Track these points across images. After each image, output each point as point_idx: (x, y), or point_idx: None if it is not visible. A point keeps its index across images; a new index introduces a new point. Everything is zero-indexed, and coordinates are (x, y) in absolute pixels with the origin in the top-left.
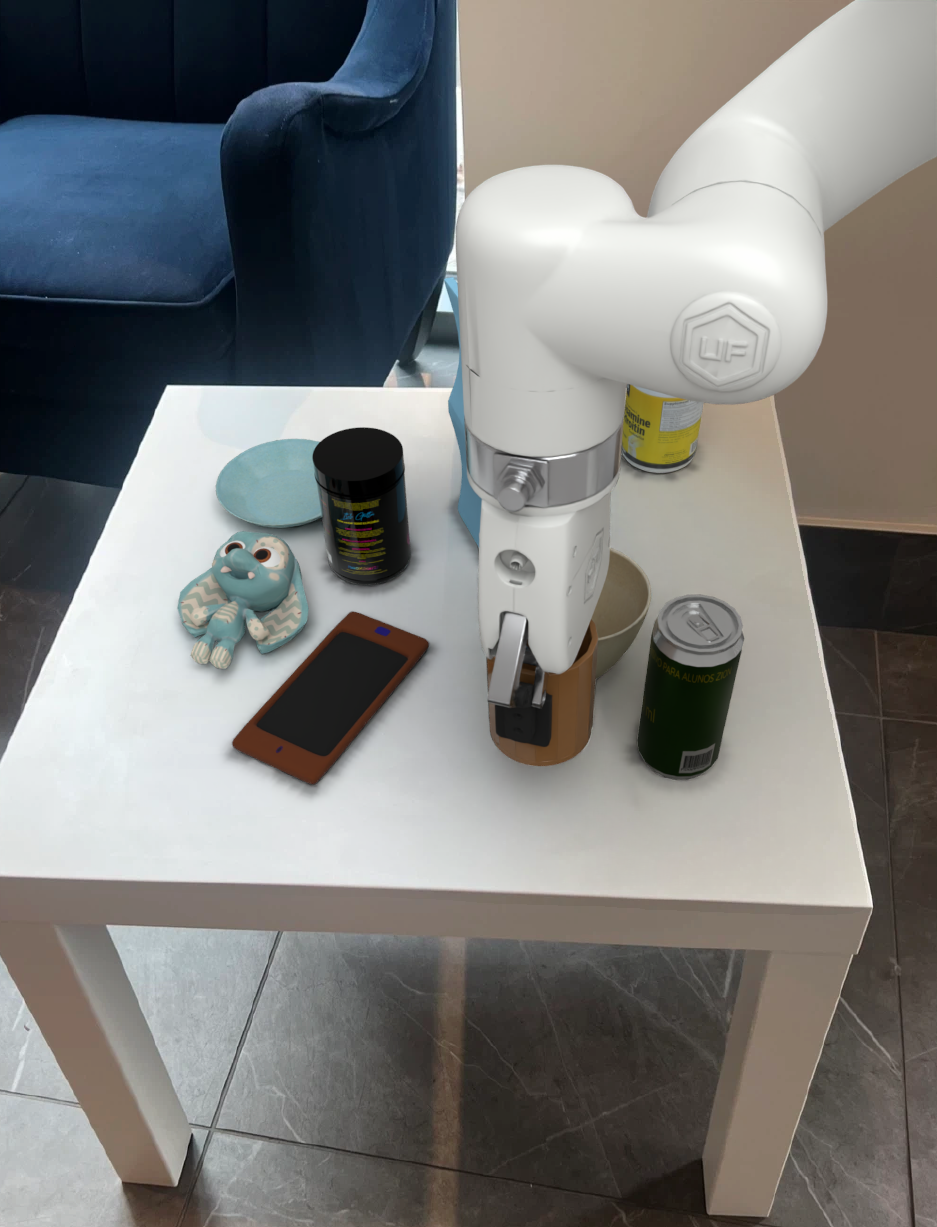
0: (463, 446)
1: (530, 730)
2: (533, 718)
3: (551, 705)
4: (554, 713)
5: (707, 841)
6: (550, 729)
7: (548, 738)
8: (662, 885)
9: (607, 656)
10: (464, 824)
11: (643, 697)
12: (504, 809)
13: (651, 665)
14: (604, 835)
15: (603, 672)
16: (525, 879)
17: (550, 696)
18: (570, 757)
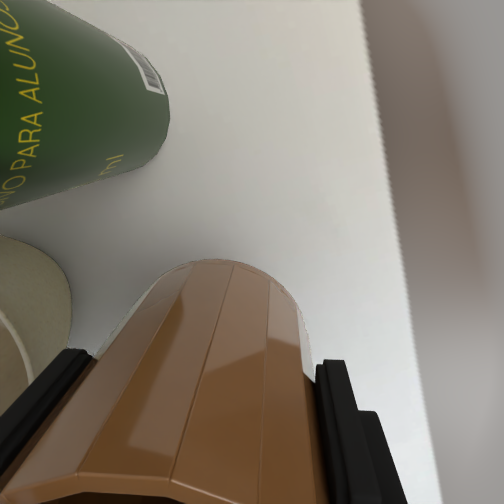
0: None
1: (386, 444)
2: (383, 470)
3: (352, 460)
4: (307, 402)
5: (260, 25)
6: (339, 387)
7: (346, 375)
8: (355, 77)
9: (12, 265)
10: (323, 341)
11: (78, 186)
12: None
13: (23, 198)
14: (292, 177)
15: (32, 250)
16: (386, 257)
17: (360, 500)
18: (275, 281)
